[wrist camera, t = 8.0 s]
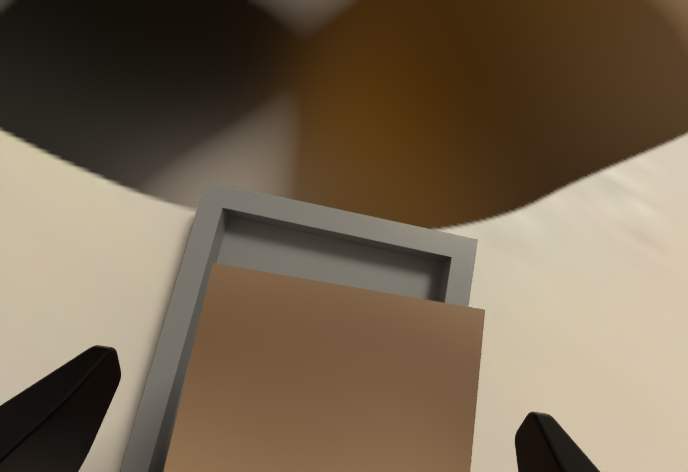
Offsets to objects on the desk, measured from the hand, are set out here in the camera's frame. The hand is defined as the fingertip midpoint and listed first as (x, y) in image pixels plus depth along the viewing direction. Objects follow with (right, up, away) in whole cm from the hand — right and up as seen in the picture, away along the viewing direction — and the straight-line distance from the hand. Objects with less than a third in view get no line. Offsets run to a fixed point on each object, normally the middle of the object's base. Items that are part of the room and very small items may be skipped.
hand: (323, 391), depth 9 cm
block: (-1, -2, +9) cm, 9 cm away
